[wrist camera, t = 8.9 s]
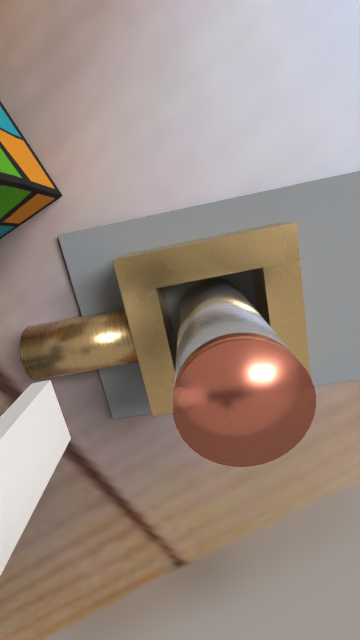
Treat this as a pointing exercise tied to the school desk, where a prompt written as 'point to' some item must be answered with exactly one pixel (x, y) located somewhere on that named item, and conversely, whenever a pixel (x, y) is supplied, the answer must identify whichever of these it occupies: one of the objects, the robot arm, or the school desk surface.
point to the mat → (229, 216)
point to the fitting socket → (152, 312)
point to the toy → (20, 178)
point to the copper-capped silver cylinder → (236, 380)
